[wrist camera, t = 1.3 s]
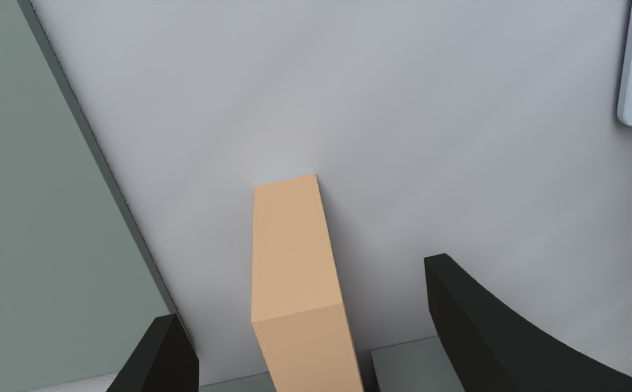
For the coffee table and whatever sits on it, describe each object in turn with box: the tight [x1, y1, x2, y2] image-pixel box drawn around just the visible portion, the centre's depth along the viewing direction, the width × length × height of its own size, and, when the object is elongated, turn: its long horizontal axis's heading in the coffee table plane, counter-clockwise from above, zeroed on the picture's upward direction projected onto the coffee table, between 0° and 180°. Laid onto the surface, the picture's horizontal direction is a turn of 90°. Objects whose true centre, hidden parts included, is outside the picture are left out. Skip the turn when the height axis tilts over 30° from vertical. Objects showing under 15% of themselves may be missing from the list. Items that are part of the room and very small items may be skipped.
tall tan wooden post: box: [251, 174, 364, 392], centre depth 16 cm, size 2×12×6 cm, turn 11°
